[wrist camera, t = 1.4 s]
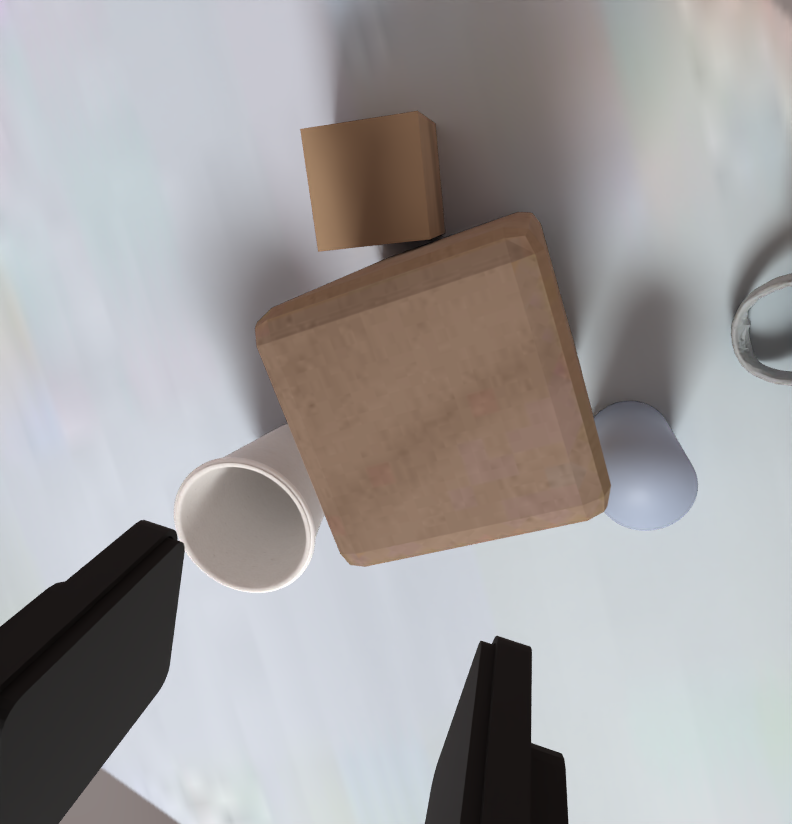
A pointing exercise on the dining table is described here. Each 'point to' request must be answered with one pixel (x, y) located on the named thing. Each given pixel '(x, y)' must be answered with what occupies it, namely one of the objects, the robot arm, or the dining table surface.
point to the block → (439, 396)
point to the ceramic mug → (742, 337)
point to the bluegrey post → (644, 467)
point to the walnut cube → (374, 181)
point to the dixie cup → (251, 515)
